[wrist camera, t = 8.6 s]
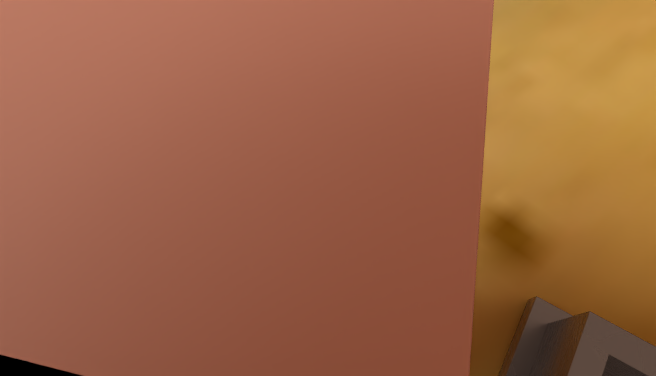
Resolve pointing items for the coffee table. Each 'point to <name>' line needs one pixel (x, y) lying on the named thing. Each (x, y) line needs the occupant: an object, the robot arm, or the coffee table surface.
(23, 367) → the robot arm
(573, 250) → the coffee table surface
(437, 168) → the terracotta peg
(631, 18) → the coffee table surface
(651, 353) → the metal socket
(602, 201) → the coffee table surface
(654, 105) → the coffee table surface
